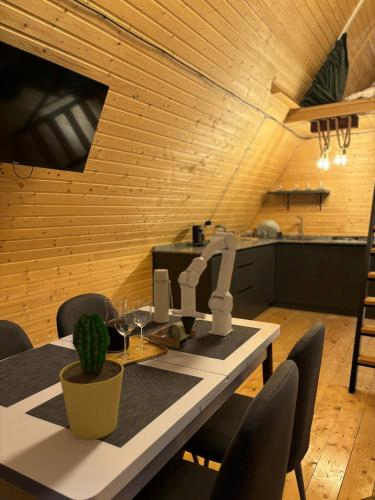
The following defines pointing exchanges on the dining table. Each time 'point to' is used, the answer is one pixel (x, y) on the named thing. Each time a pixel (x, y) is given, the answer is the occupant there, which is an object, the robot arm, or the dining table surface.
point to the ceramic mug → (176, 331)
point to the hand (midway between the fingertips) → (188, 334)
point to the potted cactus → (91, 381)
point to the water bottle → (161, 296)
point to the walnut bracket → (166, 341)
